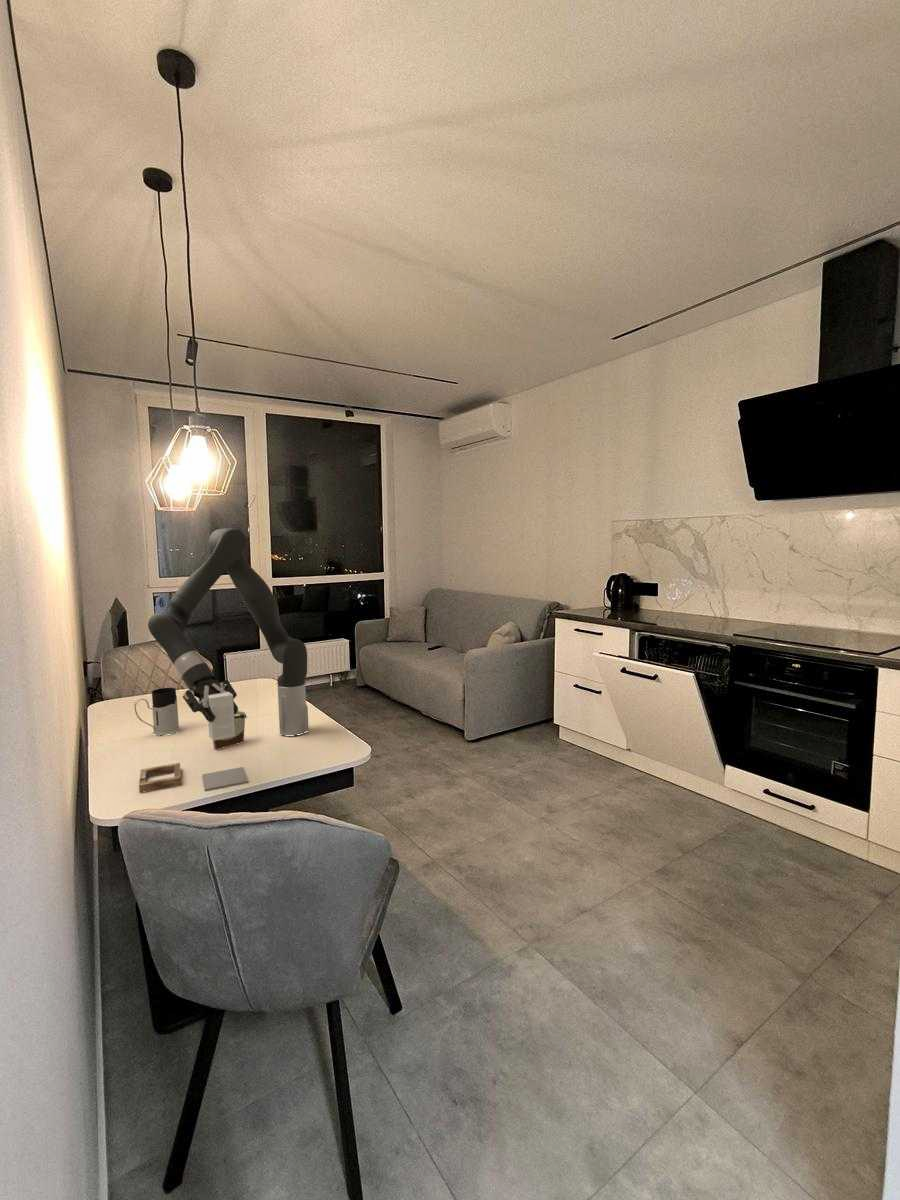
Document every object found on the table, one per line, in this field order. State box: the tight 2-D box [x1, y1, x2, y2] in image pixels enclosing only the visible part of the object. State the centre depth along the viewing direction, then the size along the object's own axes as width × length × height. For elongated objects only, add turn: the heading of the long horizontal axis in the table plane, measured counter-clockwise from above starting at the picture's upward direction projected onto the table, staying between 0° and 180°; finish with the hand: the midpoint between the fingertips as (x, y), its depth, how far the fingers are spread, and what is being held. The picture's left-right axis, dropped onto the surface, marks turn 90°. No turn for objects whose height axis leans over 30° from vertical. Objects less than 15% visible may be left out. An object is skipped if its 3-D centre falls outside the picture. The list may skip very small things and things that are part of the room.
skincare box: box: [207, 692, 235, 742], centre depth 153 cm, size 6×4×12 cm
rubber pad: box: [201, 766, 249, 792], centre depth 155 cm, size 11×11×1 cm
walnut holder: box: [138, 762, 182, 793], centre depth 154 cm, size 10×12×2 cm
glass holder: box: [134, 687, 181, 736], centre depth 192 cm, size 9×14×15 cm, turn 141°
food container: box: [207, 710, 248, 751], centre depth 182 cm, size 12×6×10 cm, turn 134°
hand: (224, 716), depth 152 cm, fingers closed on skincare box, 7 cm apart
